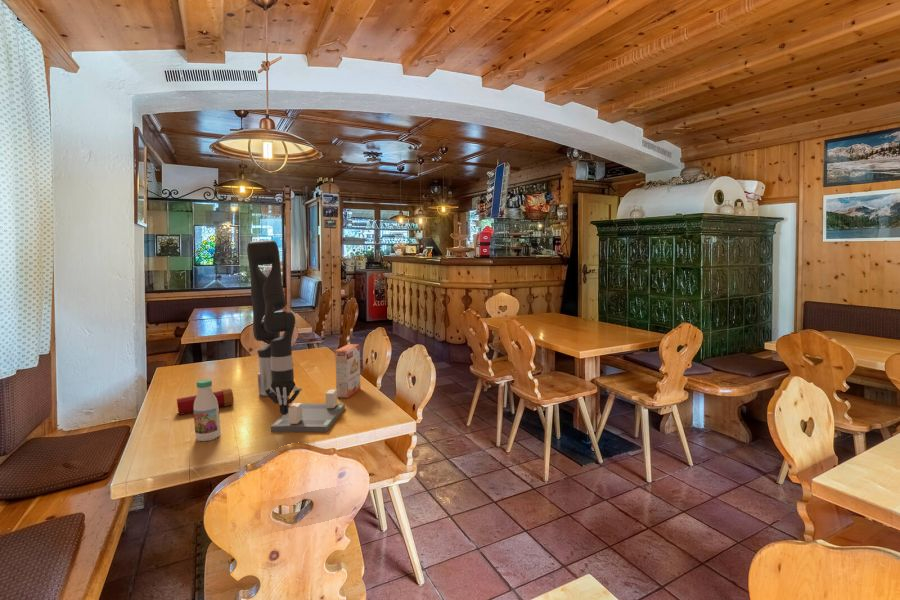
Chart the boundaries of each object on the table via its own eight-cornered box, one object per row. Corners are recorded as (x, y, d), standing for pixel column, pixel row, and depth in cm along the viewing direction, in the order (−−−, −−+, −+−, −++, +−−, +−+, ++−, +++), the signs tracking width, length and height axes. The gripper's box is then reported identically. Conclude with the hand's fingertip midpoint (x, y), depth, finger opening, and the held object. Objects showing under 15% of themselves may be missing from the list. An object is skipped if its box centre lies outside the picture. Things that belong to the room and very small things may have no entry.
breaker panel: (271, 431, 168) (270, 426, 168) (295, 408, 192) (295, 403, 192) (326, 432, 167) (326, 426, 167) (344, 408, 191) (344, 403, 191)
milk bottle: (201, 433, 168) (197, 378, 165) (224, 432, 169) (220, 377, 166) (191, 442, 160) (186, 384, 158) (215, 441, 161) (211, 384, 158)
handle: (326, 408, 185) (325, 393, 184) (330, 403, 190) (329, 389, 189) (333, 408, 185) (333, 393, 184) (337, 403, 190) (336, 389, 189)
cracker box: (349, 398, 203) (347, 350, 200) (336, 398, 204) (334, 350, 202) (361, 388, 217) (360, 343, 214) (349, 388, 218) (347, 343, 215)
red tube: (234, 407, 195) (233, 390, 194) (178, 417, 184) (177, 399, 184) (231, 402, 201) (230, 386, 200) (177, 411, 190) (176, 395, 189)
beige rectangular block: (289, 423, 169) (288, 407, 169) (294, 418, 174) (293, 403, 174) (297, 423, 169) (296, 407, 168) (302, 418, 174) (301, 403, 173)
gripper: (259, 370, 166) (262, 417, 168) (296, 370, 165) (298, 418, 167) (268, 364, 173) (271, 410, 175) (304, 364, 173) (306, 410, 175)
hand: (284, 414), depth 171 cm, fingers closed
